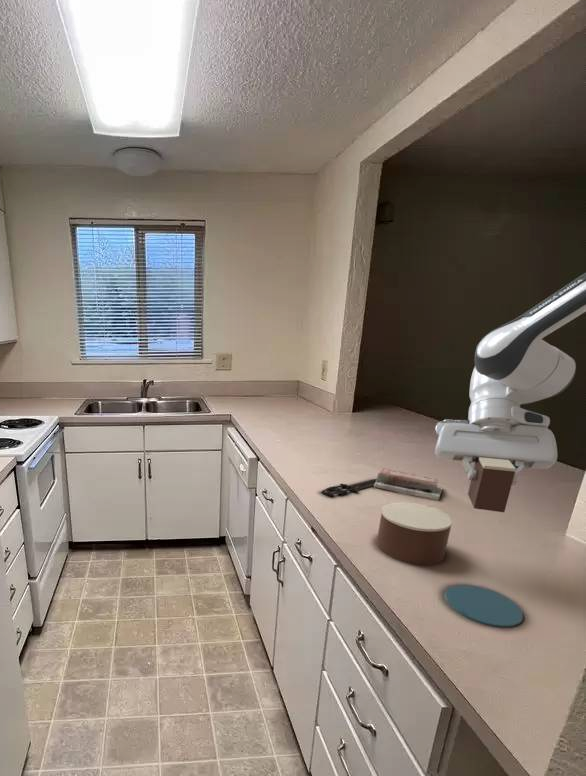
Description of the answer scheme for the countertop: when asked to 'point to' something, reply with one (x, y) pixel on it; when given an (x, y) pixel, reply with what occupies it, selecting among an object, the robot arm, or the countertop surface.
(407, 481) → the packaged product
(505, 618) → the plate
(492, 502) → the cake slice
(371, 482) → the knife
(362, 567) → the countertop surface
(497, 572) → the countertop surface
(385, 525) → the cake
